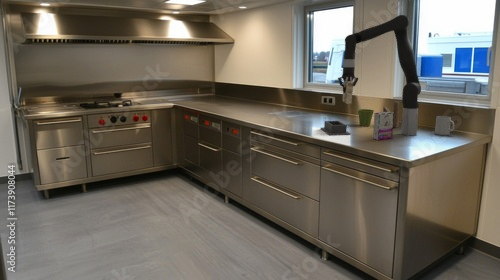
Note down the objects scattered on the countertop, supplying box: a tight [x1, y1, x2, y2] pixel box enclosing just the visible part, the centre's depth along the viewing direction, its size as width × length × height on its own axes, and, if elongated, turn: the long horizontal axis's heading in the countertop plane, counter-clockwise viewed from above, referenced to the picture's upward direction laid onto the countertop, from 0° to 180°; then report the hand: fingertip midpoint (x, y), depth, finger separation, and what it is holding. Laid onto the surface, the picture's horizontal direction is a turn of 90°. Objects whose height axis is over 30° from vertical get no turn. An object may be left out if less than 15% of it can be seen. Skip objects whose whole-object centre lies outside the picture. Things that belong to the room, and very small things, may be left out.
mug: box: [434, 115, 456, 136], centre depth 254 cm, size 12×8×11 cm
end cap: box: [320, 120, 352, 136], centre depth 266 cm, size 22×14×6 cm, turn 5°
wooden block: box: [382, 101, 400, 129], centre depth 280 cm, size 4×11×18 cm, turn 44°
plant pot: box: [357, 108, 375, 127], centre depth 286 cm, size 12×12×11 cm
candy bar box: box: [372, 111, 394, 141], centre depth 242 cm, size 11×5×16 cm, turn 114°
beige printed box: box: [342, 81, 354, 105], centre depth 261 cm, size 10×3×14 cm, turn 4°
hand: (347, 92), depth 262 cm, fingers closed on beige printed box, 3 cm apart
